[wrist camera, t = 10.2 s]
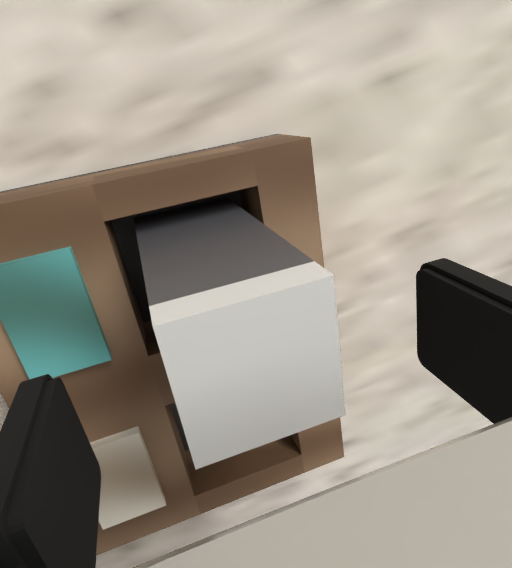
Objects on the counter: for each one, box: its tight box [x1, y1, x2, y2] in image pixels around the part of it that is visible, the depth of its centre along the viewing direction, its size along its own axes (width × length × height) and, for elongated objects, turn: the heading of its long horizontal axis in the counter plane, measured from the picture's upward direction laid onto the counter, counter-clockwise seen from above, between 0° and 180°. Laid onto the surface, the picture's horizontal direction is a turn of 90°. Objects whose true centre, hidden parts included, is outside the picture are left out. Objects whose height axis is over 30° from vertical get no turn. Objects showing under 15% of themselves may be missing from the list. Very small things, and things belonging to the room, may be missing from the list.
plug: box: [134, 197, 346, 469], centre depth 14 cm, size 4×4×10 cm
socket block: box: [0, 134, 344, 555], centre depth 18 cm, size 16×13×4 cm
